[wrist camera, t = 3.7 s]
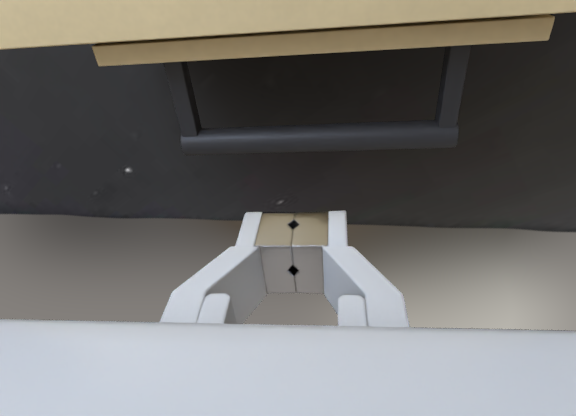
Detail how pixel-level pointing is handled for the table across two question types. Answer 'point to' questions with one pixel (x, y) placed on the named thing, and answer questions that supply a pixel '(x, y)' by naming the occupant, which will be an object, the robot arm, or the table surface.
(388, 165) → the table surface
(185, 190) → the table surface
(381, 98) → the table surface
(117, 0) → the oven
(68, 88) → the table surface
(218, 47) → the oven door
